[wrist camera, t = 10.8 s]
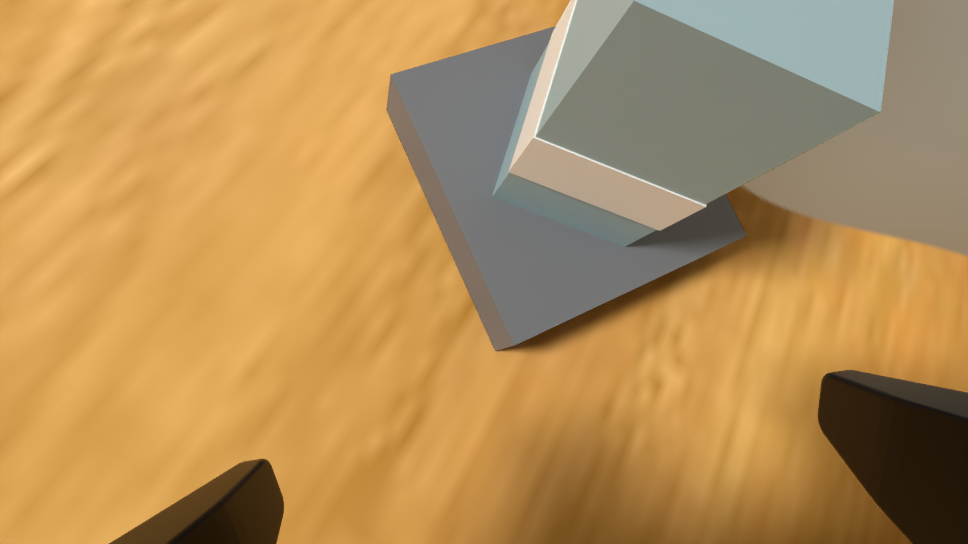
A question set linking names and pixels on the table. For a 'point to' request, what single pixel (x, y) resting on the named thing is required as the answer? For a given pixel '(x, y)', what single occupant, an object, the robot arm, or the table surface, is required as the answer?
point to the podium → (508, 228)
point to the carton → (685, 104)
